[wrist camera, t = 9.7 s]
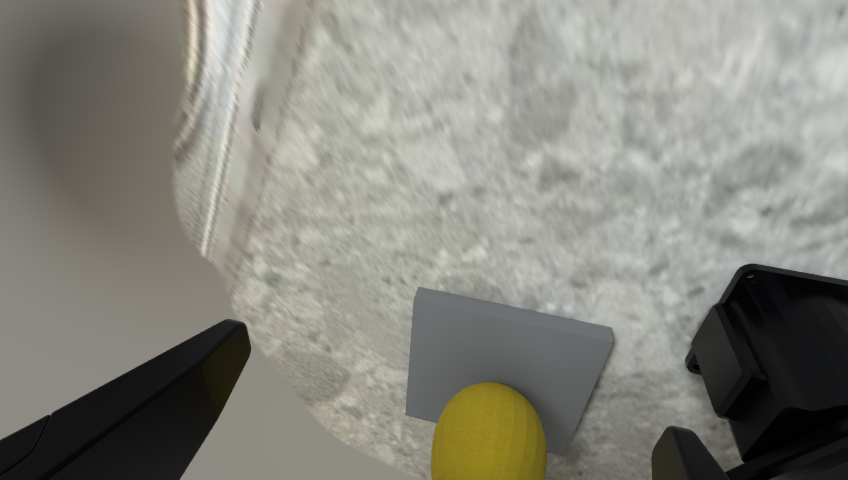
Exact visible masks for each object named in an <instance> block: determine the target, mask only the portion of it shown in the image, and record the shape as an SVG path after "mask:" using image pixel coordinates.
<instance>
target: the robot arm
mask: <svg viewBox="0 0 848 480" xmlns="http://www.w3.org/2000/svg"><path fill="white" fill-rule="evenodd" d="M752 274H757V275H756V276H754V277H752V278H747V277H748V276H749V275H752ZM250 352H251V345H250V340H249V335H248V331H247V327H246V325H245V323H244V322H241V321H236V320H232V319H226V320H224V321H221V322H219V323H218V324H216V325H214V326H212V327H210V328H208V329H206V330H205V331H203V332H201V333H199V334H197V335H195V336H193V337H192V338H190V339H188V340H186V341H184V342H182V343H181V344H179V345H177V346H175V347H173V348H171V349H169V350H168V351H166V352H164V353H162V354H160V355H158V356H156V357H155V358H153V359H151V360H149V361H147V362H145V363H143V364H142V365H140V366H138V367H136V368H134V369H132V370H130V371H129V372H127V373H125V374H123V375H121V376H119V377H117V378H116V379H114V380H112V381H110V382H108V383H106V384H104V385H103V386H101V387H99V388H97V389H95V390H93V391H91V392H90V393H88V394H86V395H84V396H82V397H80V398H78V399H77V400H75V401H73V402H71V403H69V404H67V405H65V406H64V407H62V408H60V409H58V410H56V411H54V412H53V413H52V414H51V415H47V416H45V417H43V418H41V419H39V420H37V421H36V422H34V423H32V424H30V425H28V426H26V427H25V428H22V429H20V430H18V431H16V432H15V433H13V434H11V435H9V436H7V437H5V438H3V439H1V440H0V480H180V478H181V477H182V475H183V473H184V472H185V470H186V469H187V467H188V466H189V464H190V462H191V461H192V459H193V458H194V456H195V454H196V453H197V451H198V450H199V448H200V447H201V445H202V443H203V442H204V440H205V439H206V437H207V436H208V434H209V432H210V431H211V429H212V428H213V426H214V424H215V423H216V421H217V419H218V417H219V415H220V414H221V412H222V410H223V408H224V406H225V404H226V402H227V400H228V398H229V396H230V394H231V392H232V390H233V388H234V386H235V384H236V382H237V380H238V378H239V376H240V374H241V372H242V370H243V368H244V366H245V364H246V362H247V360H248V358H249V356H250ZM685 362H686V365H687V368H688V370H689V371H690V372H692V373H695V374H700V375H702V376H703V379H704V382H705V385H706V388H707V391H708V394H709V397H710V400H711V403H712V406H713V409H714V411H715V413H716V414H717V416H718V417H720V418H723V419H727V420H728V423H729V426H730V429H731V431H732V434H733V437H734V440H735V443H736V445H737V448H738V451H739V454H740V457H741V459H742V461H743V462H745V463H742V464H740V465H738V466H736V467H734V468H732V469H729V470H727V471H725V472H724V471H723V470H722V468H721V467H720V466H719V464H718V463H717V462H716V460H715V459H714V458H713V456H712V455H711V454H710V452H709V451H708V450H707V448H706V447H705V446H704V444H703V443H702V442H701V440H700V439H699V438H698V436H697V435H696V434H695V433H694V432H693V431H691V430H689V429H685V428H681V427H676V426H669V427H667V428H666V430H665V431H664V433H663V434H662V436H661V437H660V439H659V441H658V442H657V444H656V445H655V447H654V449H653V452H652V480H848V281H847V280H841V279H836V278H830V277H825V276H819V275H814V274H808V273H803V272H797V271H792V270H786V269H781V268H775V267H770V266H764V265H758V264H747V265H744V266H742V267H740V268H739V269H738V271H737V272H736V274H735V275H734V277H733V279H732V280H731V282H730V284H729V286H728V287H727V289H726V291H725V292H724V294H723V296H722V298H721V299H720V301H719V303H717V304H715V305H714V306H713V307H712V308H711V310H710V312H709V313H708V315H707V317H706V319H705V320H704V322H703V324H702V326H701V327H700V329H699V331H698V332H697V334H696V336H695V338H694V339H693V341H692V349H691V350H690V352H689V354H688V355H687V357H686V360H685ZM696 363H698V364H696Z"/></svg>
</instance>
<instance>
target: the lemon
mask: <svg viewBox="0 0 848 480" xmlns="http://www.w3.org/2000/svg"><path fill="white" fill-rule="evenodd" d="M546 459H547V448H546V440H545V435H544V431H543V428H542V425H541V422H540V419H539V417H538V414H537V413H536V411H535V409H534V408H533V407H532V405H531V404H530V403H529V402H528V400H527V399H526V398H525V397H524V396H522V395H521V394H520V393H519V392H517V391H516V390H514V389H512V388H511V387H509V386H506V385H503V384H500V383H497V382H482V383H476V384H473V385H471V386H468V387H466V388H464V389H462V390H461V391H460V392H458V393H457V394H456V395H455V396H454V397H453V398H452V399H451V400H450V401H449V402H448V404H447V405H446V407H445V409H444V410H443V412H442V414H441V416H440V418H439V420H438V423H437V426H436V429H435V432H434V437H433V444H432V456H431V473H432V480H544V478H545V471H546Z"/></svg>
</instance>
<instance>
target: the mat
mask: <svg viewBox="0 0 848 480" xmlns="http://www.w3.org/2000/svg"><path fill="white" fill-rule="evenodd" d="M612 345H613V335H612V328H610V327H605V326H600V325H596V324H591V323H586V322H581V321H577V320H572V319H567V318H562V317H558V316H553V315H548V314H544V313H539V312H534V311H529V310H525V309H520V308H515V307H510V306H506V305H501V304H496V303H491V302H487V301H482V300H477V299H473V298H468V297H463V296H458V295H454V294H449V293H444V292H439V291H435V290H430V289H425V288H421V287H418V290H417V292H416V295H415V298H414V304H413V318H412V332H411V346H410V360H409V374H408V388H407V402H406V415H407V416H411V417H415V418H419V419H423V420H426V421H430V422H434V423H438V420H439V418H440V416H441V414H442V412H443V410H444V409H445V407H446V405H447V404H448V402H449V401H450V400H451V399H452V398H453V397H454V396H455V395H456V394H457V393H458V392H460V391H461V390H462V389H464V388H466V387H468V386H471V385H473V384H476V383H482V382H497V383H500V384H503V385H506V386H509V387H511V388H512V389H514V390H516V391H517V392H519V393H520V394H521V395H522V396H524V397H525V398H526V399H527V400H528V402H529V403H530V404H531V405H532V407H533V408H534V409H535V411H536V413H537V414H538V417H539V419H540V422H541V425H542V428H543V431H544V435H545V440H546V448H547V452H550V453H554V454H557V455H561V456H564V454H565V452H566V449H567V447H568V445H569V443H570V440H571V438H572V436H573V434H574V431H575V429H576V427H577V424H578V422H579V420H580V418H581V415H582V413H583V411H584V408H585V406H586V404H587V402H588V399H589V397H590V395H591V393H592V390H593V388H594V386H595V383H596V381H597V379H598V377H599V374H600V372H601V370H602V367H603V365H604V363H605V361H606V358H607V356H608V354H609V352H610V349H611V347H612Z"/></svg>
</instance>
